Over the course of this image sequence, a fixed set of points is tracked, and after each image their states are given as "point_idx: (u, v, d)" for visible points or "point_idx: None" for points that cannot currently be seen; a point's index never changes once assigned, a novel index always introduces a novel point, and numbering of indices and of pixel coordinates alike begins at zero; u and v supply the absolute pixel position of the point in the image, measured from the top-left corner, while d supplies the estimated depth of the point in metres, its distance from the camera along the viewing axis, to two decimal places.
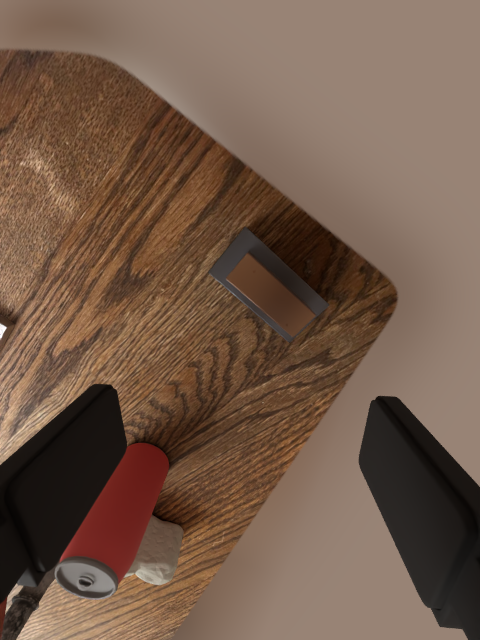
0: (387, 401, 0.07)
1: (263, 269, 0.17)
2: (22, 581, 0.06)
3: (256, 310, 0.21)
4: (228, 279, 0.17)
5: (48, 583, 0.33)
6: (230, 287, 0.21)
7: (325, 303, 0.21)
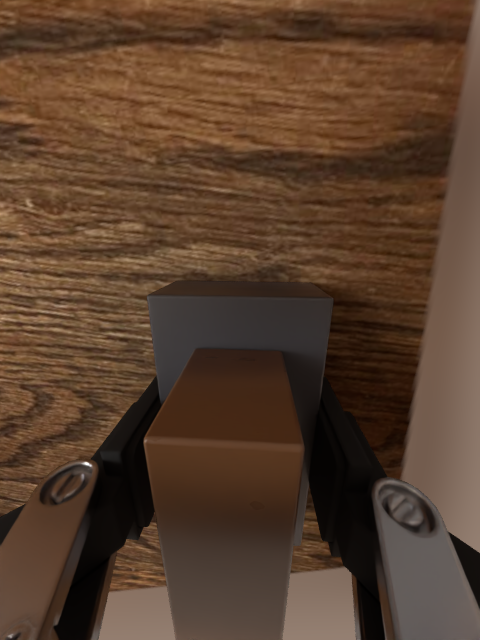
0: None
1: (289, 524, 0.04)
2: None
3: None
4: (150, 450, 0.04)
5: None
6: (165, 371, 0.07)
7: (298, 540, 0.09)
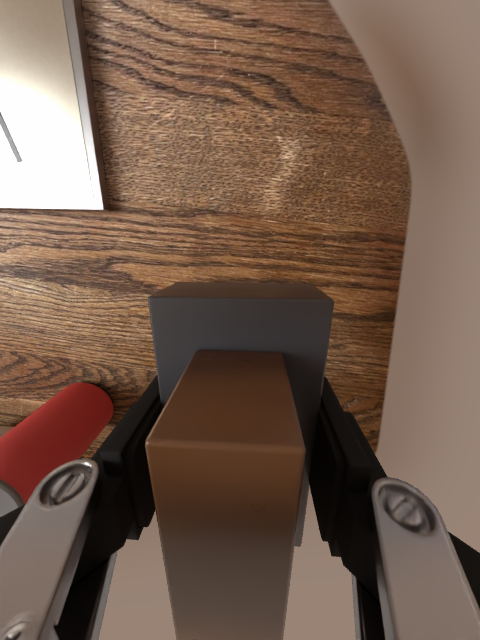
0: None
1: (290, 526, 0.04)
2: None
3: None
4: (151, 453, 0.04)
5: None
6: (166, 373, 0.07)
7: (298, 541, 0.09)
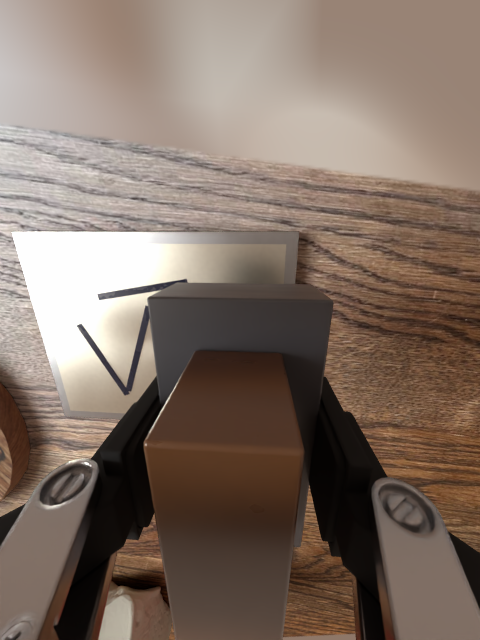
0: None
1: (289, 528, 0.04)
2: None
3: None
4: (150, 454, 0.04)
5: None
6: (165, 373, 0.07)
7: (298, 541, 0.09)
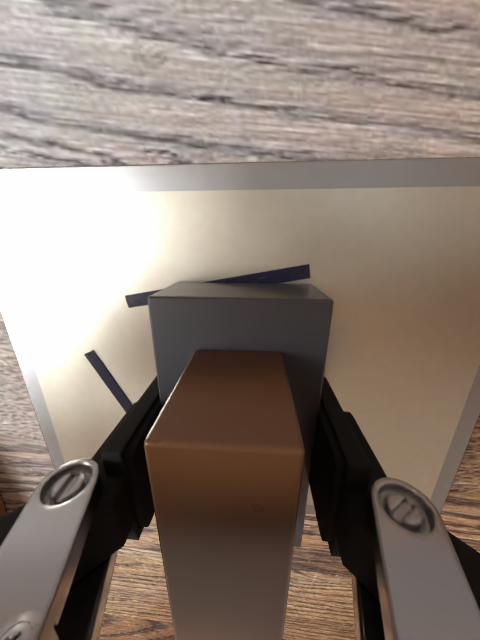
0: None
1: (289, 527, 0.04)
2: None
3: None
4: (150, 454, 0.04)
5: None
6: (166, 373, 0.07)
7: (298, 541, 0.09)
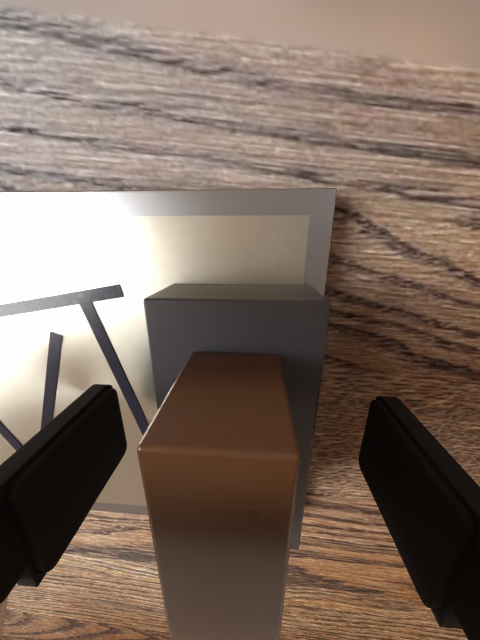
0: (387, 401, 0.07)
1: (285, 533, 0.04)
2: (22, 581, 0.06)
3: None
4: (143, 459, 0.04)
5: None
6: (162, 375, 0.07)
7: (296, 544, 0.09)
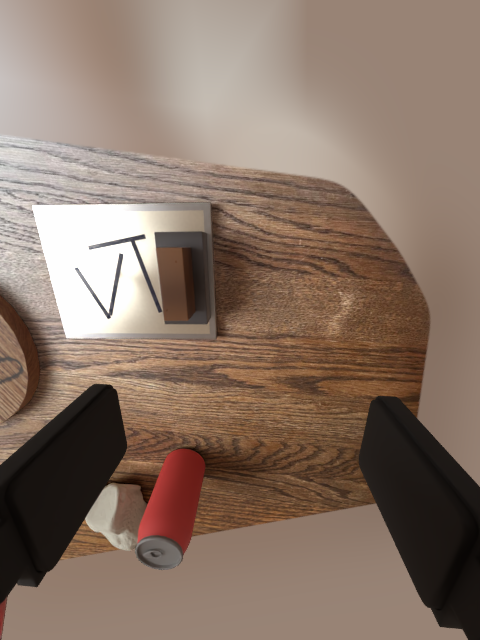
0: (387, 401, 0.07)
1: (182, 266, 0.21)
2: (22, 581, 0.06)
3: None
4: (156, 250, 0.21)
5: None
6: None
7: (206, 321, 0.26)
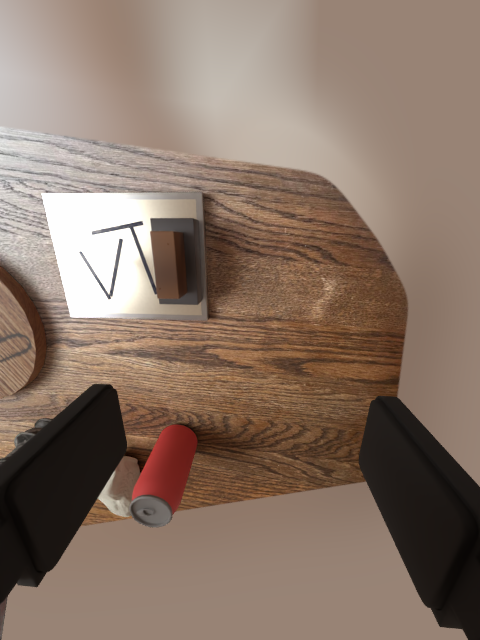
0: (387, 401, 0.07)
1: (173, 248, 0.24)
2: (21, 581, 0.06)
3: None
4: (150, 233, 0.23)
5: None
6: None
7: (196, 301, 0.29)
